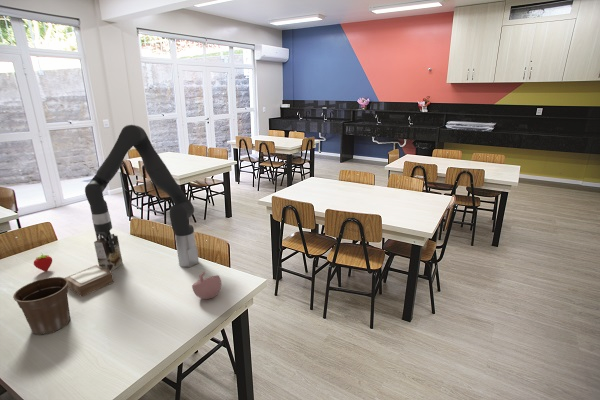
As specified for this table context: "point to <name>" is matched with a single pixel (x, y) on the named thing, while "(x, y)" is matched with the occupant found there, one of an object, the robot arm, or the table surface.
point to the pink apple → (207, 286)
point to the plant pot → (45, 304)
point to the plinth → (89, 280)
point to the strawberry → (43, 262)
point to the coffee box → (108, 255)
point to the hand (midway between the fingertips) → (108, 250)
